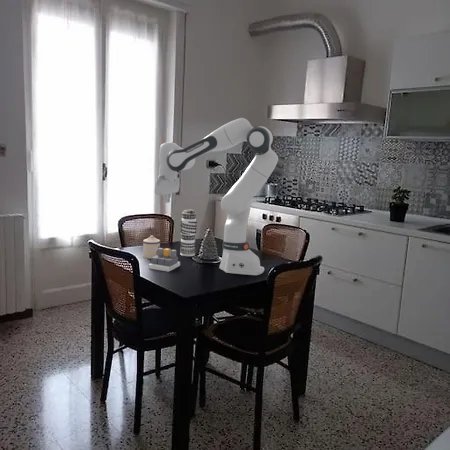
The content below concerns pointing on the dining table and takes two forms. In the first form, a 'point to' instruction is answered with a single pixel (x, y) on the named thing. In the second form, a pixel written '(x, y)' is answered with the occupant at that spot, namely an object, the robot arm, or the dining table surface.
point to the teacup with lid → (150, 247)
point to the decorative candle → (188, 233)
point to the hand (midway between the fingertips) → (167, 202)
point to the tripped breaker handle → (167, 252)
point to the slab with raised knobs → (164, 261)
